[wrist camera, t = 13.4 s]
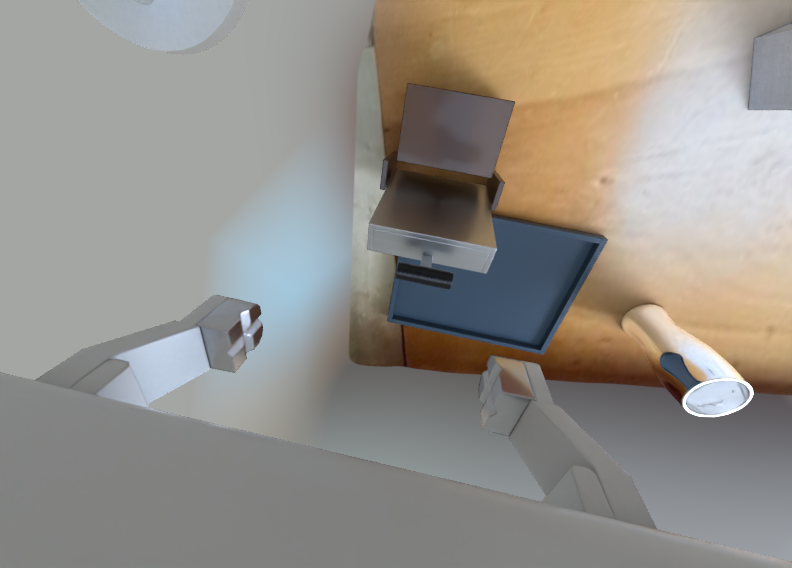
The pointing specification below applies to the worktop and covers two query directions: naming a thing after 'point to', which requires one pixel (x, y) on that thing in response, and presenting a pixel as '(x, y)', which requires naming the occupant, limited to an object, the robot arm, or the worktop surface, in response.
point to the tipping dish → (433, 226)
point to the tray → (505, 288)
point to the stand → (452, 134)
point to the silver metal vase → (686, 364)
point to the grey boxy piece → (772, 71)
